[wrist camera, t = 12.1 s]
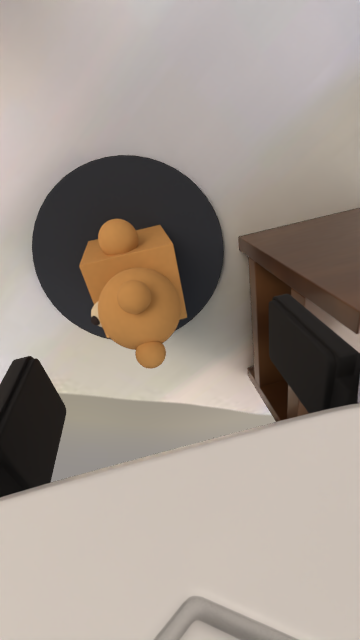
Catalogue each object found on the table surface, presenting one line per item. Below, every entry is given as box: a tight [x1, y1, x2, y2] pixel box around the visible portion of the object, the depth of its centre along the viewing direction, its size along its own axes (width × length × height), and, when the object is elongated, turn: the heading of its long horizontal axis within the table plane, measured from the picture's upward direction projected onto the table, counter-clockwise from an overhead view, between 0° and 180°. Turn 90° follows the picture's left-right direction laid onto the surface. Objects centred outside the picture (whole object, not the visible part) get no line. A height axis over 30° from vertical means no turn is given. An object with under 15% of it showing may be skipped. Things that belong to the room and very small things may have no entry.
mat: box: [32, 155, 224, 340], centre depth 23 cm, size 15×15×1 cm
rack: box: [238, 208, 360, 422], centre depth 22 cm, size 16×12×14 cm
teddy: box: [79, 219, 187, 368], centre depth 18 cm, size 9×6×11 cm, turn 11°
